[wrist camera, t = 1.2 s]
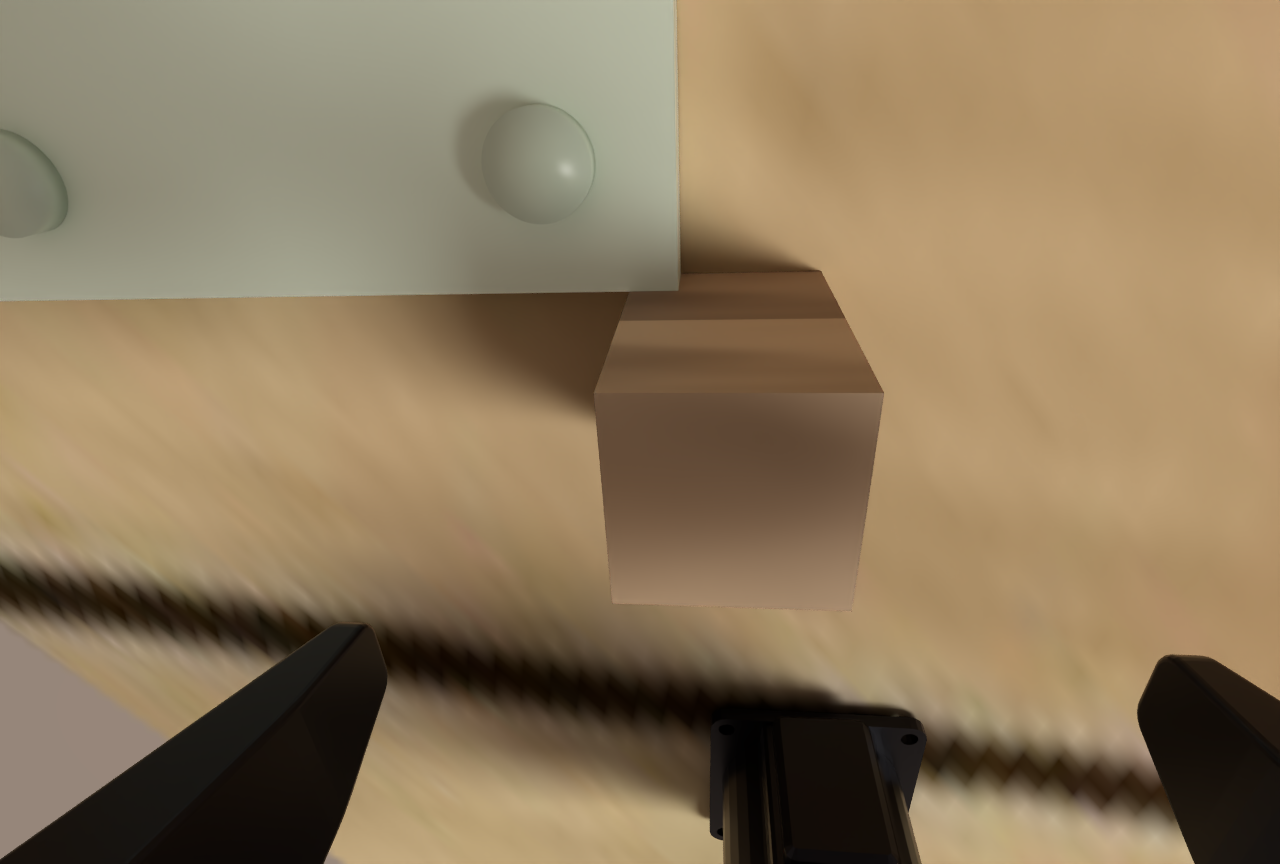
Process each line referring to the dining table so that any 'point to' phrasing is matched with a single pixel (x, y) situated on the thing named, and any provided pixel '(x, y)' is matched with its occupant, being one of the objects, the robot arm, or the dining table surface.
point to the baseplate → (337, 148)
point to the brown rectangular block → (736, 444)
